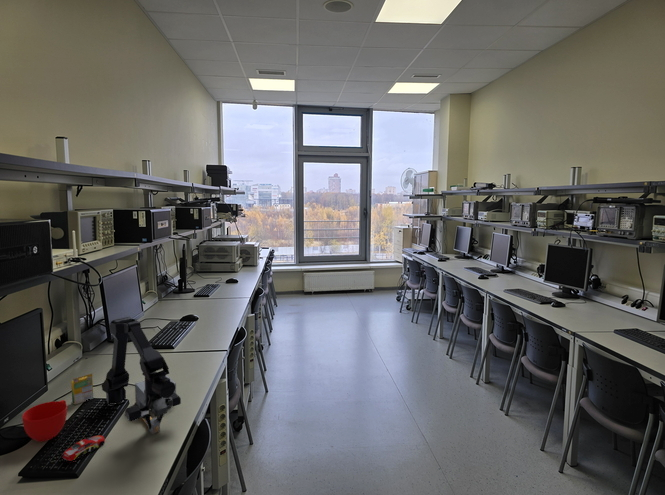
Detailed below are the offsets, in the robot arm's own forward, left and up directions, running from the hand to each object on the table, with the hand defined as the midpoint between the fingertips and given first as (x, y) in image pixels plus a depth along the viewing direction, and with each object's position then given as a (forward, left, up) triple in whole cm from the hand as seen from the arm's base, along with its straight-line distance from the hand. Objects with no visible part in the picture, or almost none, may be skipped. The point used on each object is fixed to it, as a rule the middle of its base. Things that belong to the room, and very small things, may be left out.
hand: (154, 426), depth 145 cm
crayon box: (-15, +41, -2) cm, 44 cm away
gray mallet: (0, +5, -1) cm, 6 cm away
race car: (-22, +3, -2) cm, 22 cm away
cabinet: (+8, +19, -1) cm, 20 cm away
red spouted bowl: (-29, +23, -2) cm, 37 cm away
